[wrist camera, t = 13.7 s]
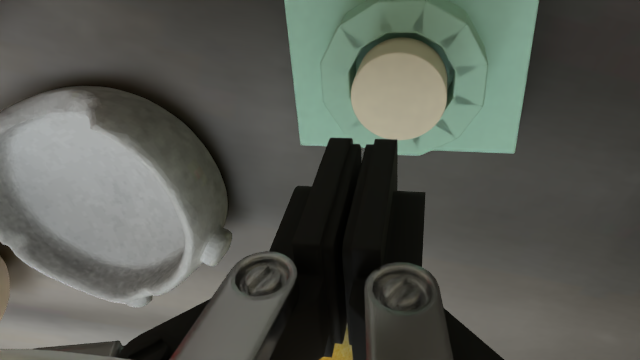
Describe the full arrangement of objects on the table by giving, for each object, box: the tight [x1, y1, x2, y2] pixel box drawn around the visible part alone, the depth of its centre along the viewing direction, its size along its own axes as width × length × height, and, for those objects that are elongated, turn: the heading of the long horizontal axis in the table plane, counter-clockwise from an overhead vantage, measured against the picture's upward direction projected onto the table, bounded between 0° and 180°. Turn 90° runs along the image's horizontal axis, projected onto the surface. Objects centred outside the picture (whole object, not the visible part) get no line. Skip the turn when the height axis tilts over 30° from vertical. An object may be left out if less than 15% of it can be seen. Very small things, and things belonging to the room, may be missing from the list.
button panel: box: [284, 0, 539, 156], centre depth 20 cm, size 12×10×4 cm
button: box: [351, 37, 447, 140], centre depth 19 cm, size 4×4×2 cm
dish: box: [0, 86, 232, 307], centre depth 29 cm, size 14×14×5 cm
